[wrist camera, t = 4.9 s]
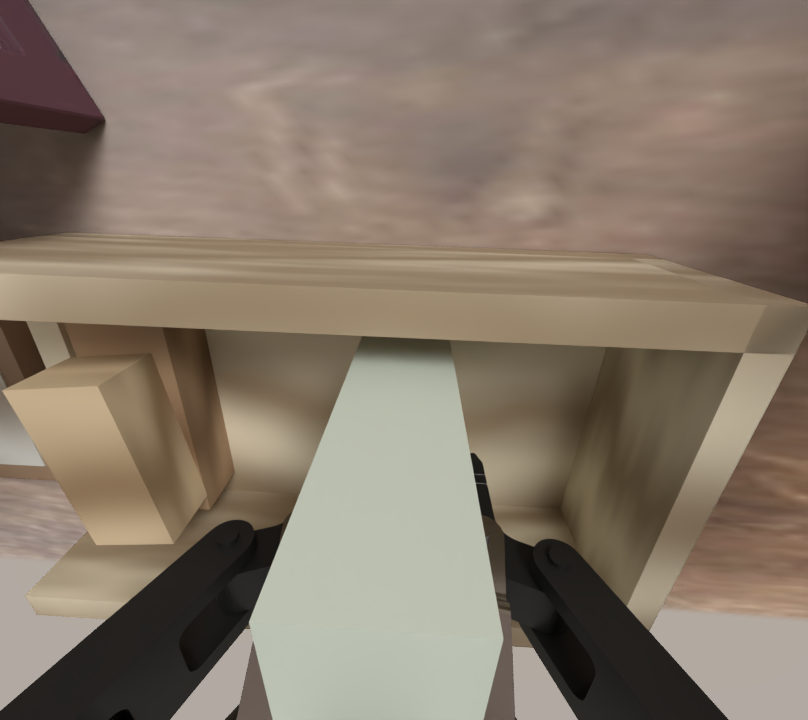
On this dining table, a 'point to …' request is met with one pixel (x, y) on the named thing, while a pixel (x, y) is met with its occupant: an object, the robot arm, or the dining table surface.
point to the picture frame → (39, 76)
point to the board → (3, 431)
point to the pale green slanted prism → (384, 556)
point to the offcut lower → (174, 387)
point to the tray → (475, 371)
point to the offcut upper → (113, 446)
